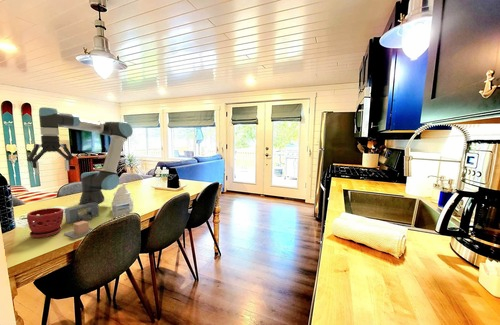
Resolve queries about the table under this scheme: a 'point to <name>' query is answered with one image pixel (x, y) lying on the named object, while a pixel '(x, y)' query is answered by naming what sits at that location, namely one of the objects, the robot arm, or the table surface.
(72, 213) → the block
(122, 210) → the medicine box
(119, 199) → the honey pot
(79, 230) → the tan block
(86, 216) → the bar
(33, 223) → the plant pot
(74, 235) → the slate tile
